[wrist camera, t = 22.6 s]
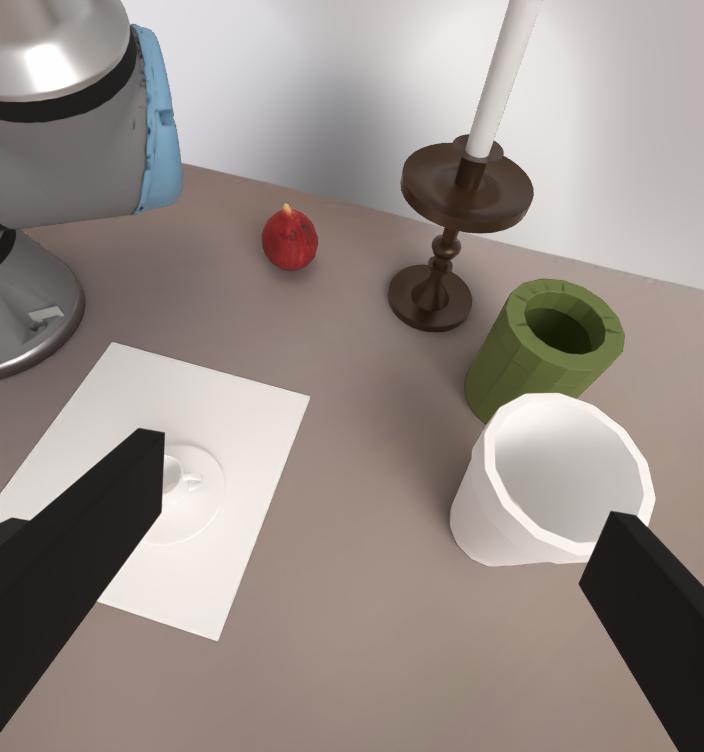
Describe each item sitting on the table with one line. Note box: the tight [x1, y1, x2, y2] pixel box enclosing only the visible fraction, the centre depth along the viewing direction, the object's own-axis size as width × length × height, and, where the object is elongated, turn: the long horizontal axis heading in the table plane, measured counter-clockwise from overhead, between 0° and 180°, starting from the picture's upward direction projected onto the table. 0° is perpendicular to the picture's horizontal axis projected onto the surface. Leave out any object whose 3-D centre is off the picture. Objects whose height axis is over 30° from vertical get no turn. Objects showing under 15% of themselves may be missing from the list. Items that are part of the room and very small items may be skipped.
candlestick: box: [388, 0, 543, 332], centre depth 33 cm, size 11×11×35 cm
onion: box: [262, 203, 318, 270], centre depth 45 cm, size 6×6×8 cm
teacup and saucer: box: [141, 444, 226, 547], centre depth 33 cm, size 9×8×4 cm
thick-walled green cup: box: [465, 279, 625, 425], centre depth 37 cm, size 9×9×11 cm
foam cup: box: [450, 393, 656, 566], centre depth 29 cm, size 10×9×13 cm
